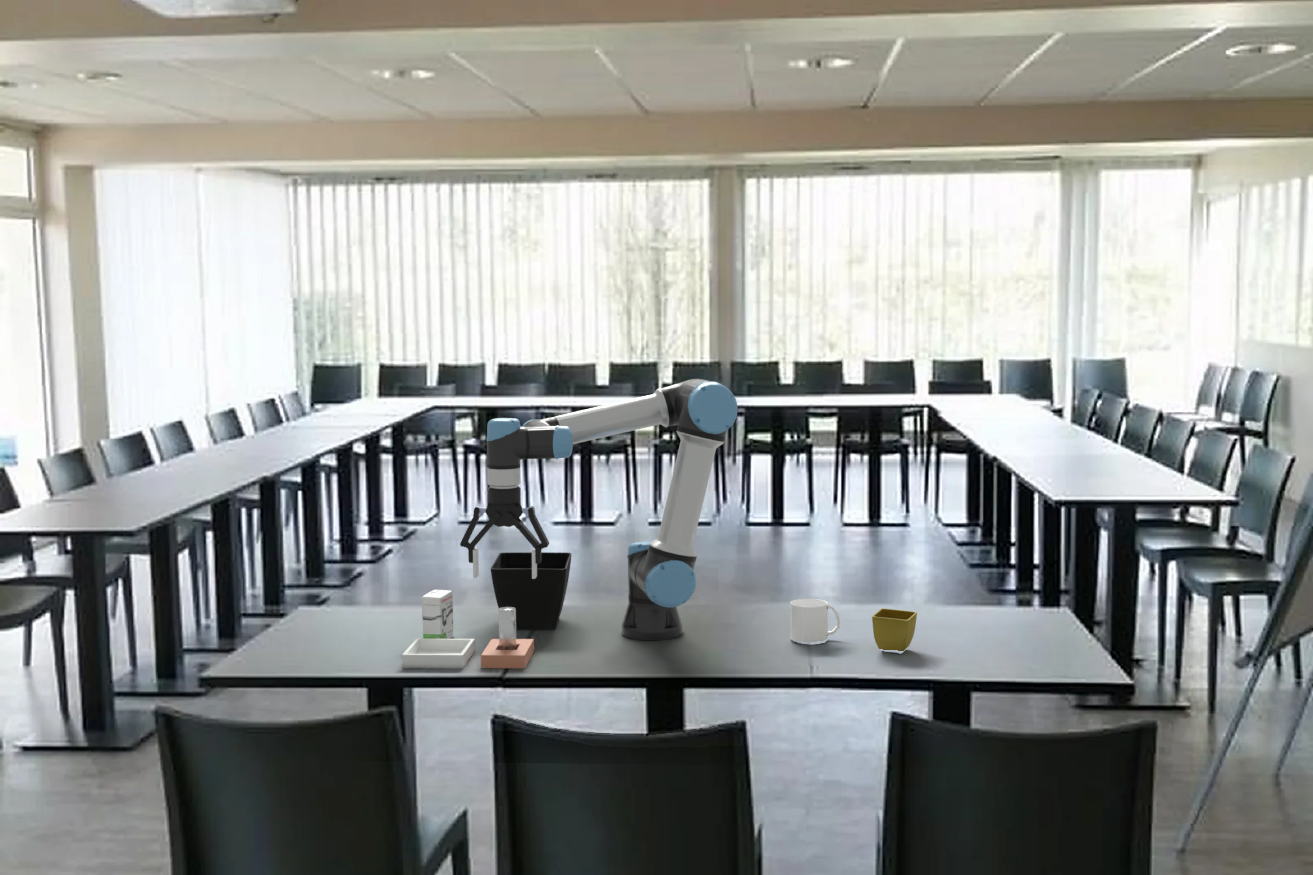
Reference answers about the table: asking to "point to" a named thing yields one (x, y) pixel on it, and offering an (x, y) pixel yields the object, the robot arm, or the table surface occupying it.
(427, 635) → the ink box
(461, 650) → the tray
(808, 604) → the mug
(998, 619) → the table surface
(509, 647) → the pin
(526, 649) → the hitch plate
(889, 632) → the flower pot
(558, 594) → the flower pot
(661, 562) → the robot arm
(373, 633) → the table surface
